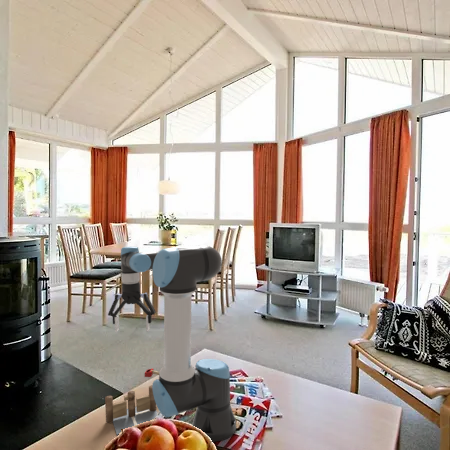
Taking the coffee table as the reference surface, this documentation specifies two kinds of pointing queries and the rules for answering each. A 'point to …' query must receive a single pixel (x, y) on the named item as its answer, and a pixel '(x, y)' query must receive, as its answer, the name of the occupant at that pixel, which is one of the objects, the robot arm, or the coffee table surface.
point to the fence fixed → (142, 403)
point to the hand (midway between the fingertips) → (132, 331)
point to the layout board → (133, 419)
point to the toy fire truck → (150, 372)
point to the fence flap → (117, 407)
